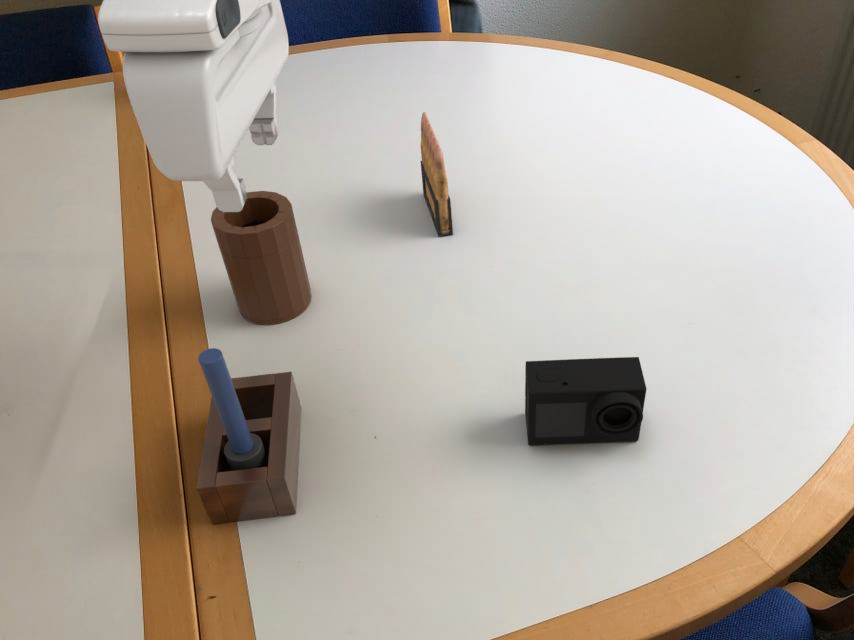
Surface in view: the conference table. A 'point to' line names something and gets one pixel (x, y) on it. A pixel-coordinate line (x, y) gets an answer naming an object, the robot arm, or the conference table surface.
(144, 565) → the conference table surface
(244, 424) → the brush
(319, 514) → the conference table surface
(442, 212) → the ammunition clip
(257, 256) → the cup
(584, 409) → the digital camera
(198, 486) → the rack
